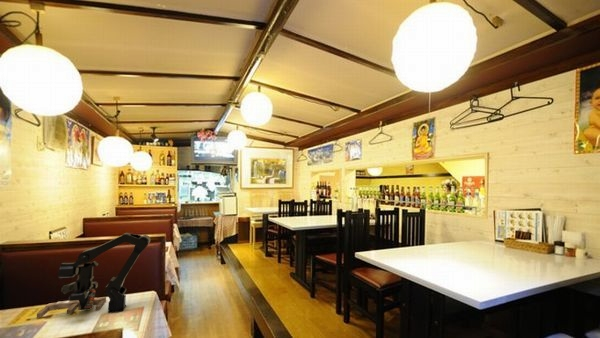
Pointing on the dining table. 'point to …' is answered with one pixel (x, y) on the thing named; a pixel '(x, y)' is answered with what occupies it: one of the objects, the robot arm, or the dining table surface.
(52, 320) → the dining table surface
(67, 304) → the brown wooden rack
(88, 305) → the supplement bottle
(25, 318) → the dining table surface
